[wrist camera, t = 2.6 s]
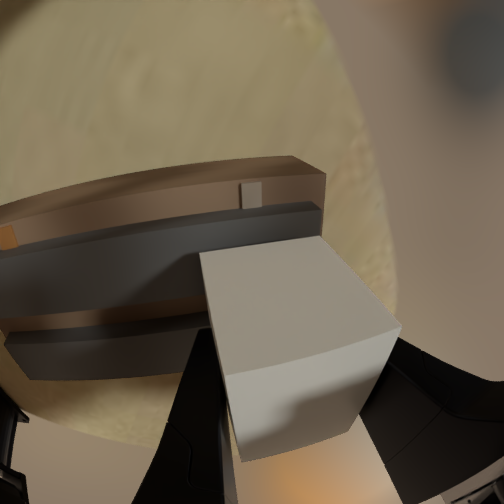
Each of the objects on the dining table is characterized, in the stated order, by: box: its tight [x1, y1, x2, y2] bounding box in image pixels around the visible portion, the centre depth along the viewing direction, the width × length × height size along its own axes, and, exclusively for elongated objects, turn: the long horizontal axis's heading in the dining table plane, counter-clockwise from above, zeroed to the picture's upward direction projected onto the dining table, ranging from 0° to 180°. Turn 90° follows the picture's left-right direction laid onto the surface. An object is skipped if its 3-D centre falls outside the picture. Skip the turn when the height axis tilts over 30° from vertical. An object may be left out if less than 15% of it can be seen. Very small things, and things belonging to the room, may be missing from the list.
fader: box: [199, 236, 402, 462], centre depth 8 cm, size 4×5×5 cm
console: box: [0, 156, 326, 380], centre depth 10 cm, size 14×8×4 cm, turn 92°
